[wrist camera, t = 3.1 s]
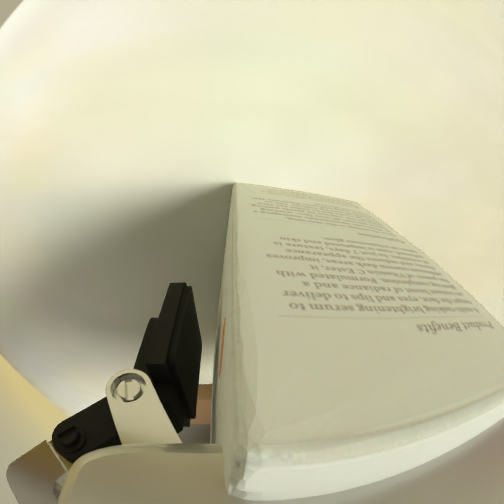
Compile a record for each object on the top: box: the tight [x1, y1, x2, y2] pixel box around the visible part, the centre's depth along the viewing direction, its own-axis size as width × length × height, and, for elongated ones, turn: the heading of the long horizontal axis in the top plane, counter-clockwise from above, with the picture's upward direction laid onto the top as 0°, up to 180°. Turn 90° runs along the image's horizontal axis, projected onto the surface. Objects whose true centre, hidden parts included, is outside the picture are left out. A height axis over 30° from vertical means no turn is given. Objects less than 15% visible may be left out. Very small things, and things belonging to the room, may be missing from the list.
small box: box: [210, 183, 504, 501], centre depth 8 cm, size 8×6×10 cm
